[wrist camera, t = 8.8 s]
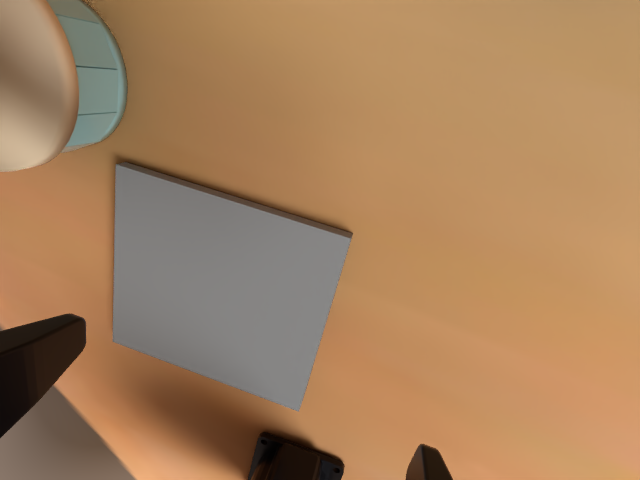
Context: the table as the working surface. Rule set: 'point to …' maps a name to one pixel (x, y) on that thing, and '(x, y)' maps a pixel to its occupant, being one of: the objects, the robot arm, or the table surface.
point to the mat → (221, 283)
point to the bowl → (93, 72)
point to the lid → (34, 85)
